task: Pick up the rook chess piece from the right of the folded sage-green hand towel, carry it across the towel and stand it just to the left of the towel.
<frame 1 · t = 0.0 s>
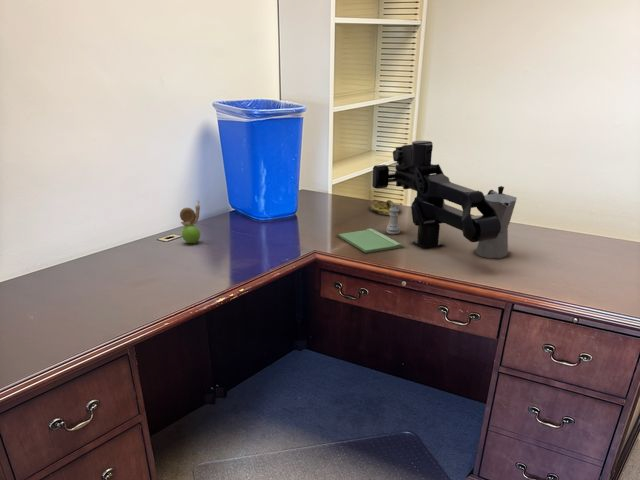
hand: (387, 169, 186), 17 cm above the table, tool horizontal, fingers open, 9 cm apart
snail figurine: (193, 243, 181), on the table
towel: (369, 241, 179), on the table
rook chess piece: (393, 233, 187), on the table
coffeepot: (490, 252, 170), on the table
seal: (384, 211, 209), on the table
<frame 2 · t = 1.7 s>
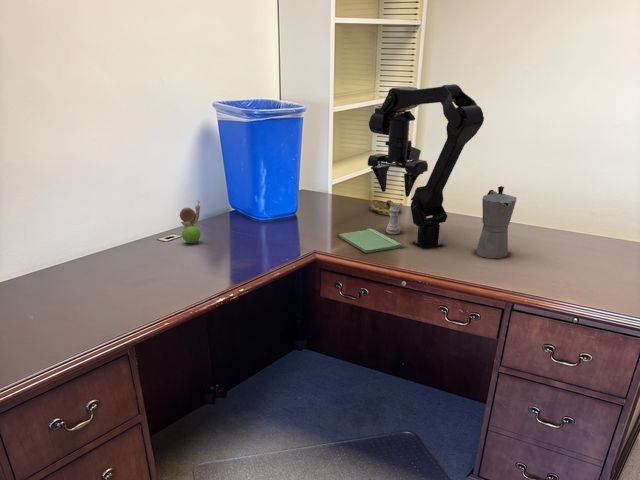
hand: (395, 194, 180), 12 cm above the table, tool pointing down, fingers open, 9 cm apart
nothing on the table moved.
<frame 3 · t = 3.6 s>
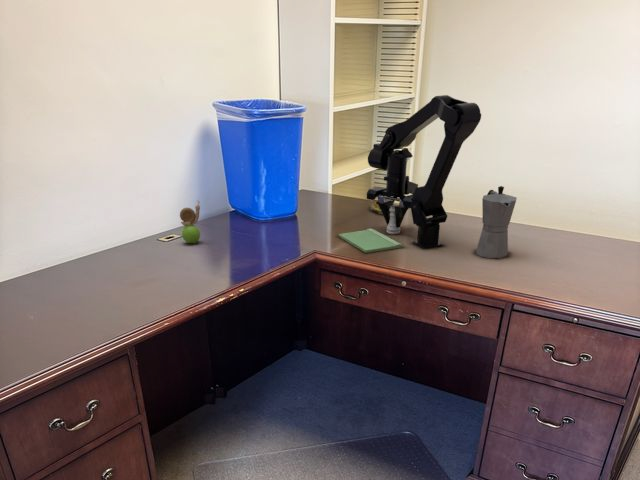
hand: (393, 226, 185), 2 cm above the table, tool pointing down, fingers closed on rook chess piece, 3 cm apart
rook chess piece: (393, 233, 187), on the table, touching gripper
everything else where it was.
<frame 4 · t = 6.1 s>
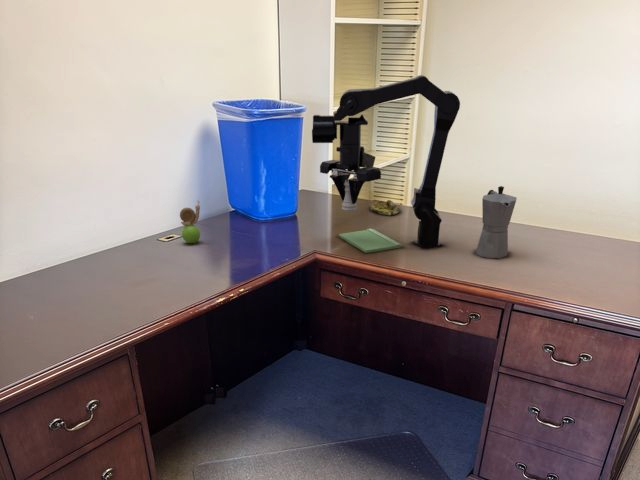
hand: (349, 202, 171), 12 cm above the table, tool pointing down, fingers closed on rook chess piece, 3 cm apart
rook chess piece: (349, 210, 172), point 10 cm above the table, touching gripper
everything else where it was.
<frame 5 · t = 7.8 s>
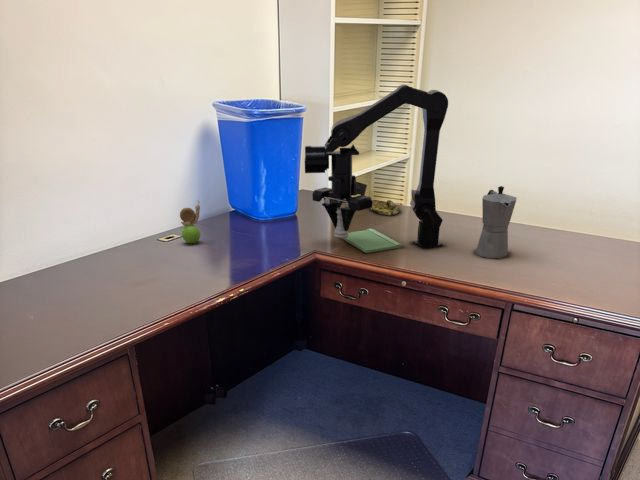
hand: (341, 229, 173), 5 cm above the table, tool pointing down, fingers closed on rook chess piece, 3 cm apart
rook chess piece: (341, 237, 175), point 3 cm above the table, touching gripper
everything else where it was.
when the fingers open (2 cm above the table, at t = 8.9 s): rook chess piece stays where it is, on the table.
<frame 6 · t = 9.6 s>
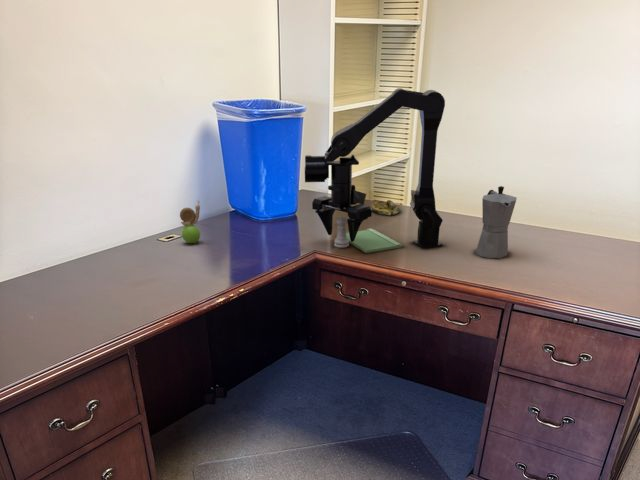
hand: (341, 238, 175), 2 cm above the table, tool pointing down, fingers open, 9 cm apart
rook chess piece: (341, 246, 176), on the table
everything else where it was.
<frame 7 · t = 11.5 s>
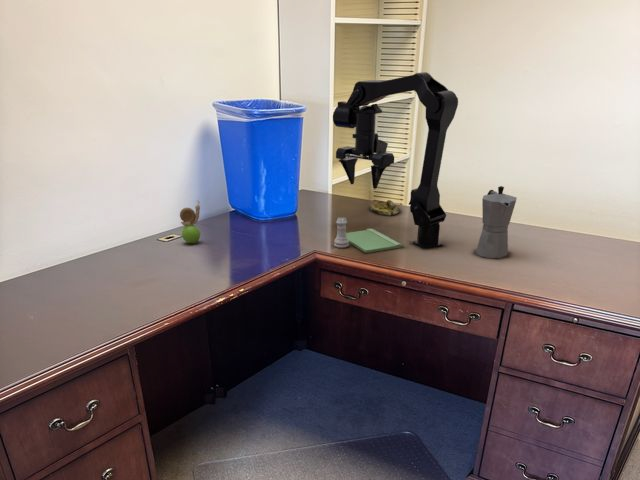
hand: (363, 186, 183), 13 cm above the table, tool pointing down, fingers open, 9 cm apart
nothing on the table moved.
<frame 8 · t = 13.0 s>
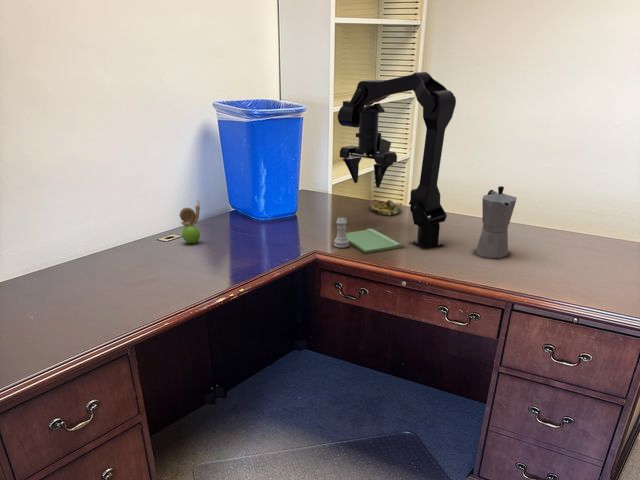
hand: (366, 185, 185), 13 cm above the table, tool pointing down, fingers open, 9 cm apart
nothing on the table moved.
at the end: rook chess piece inside the target area (0.4 cm from its centre), on the table; rook chess piece tilted 0°; the gripper is holding nothing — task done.
